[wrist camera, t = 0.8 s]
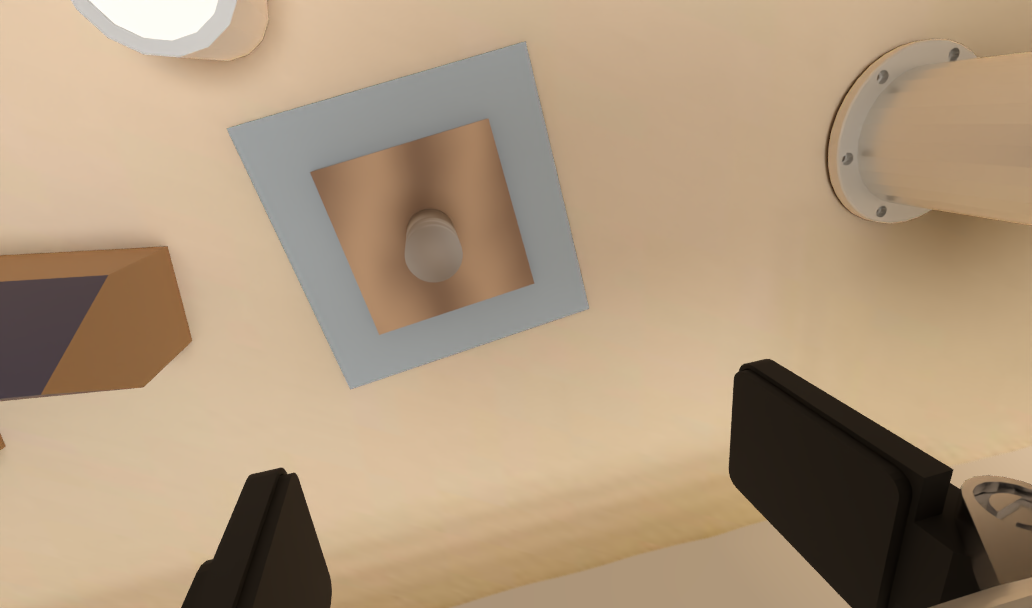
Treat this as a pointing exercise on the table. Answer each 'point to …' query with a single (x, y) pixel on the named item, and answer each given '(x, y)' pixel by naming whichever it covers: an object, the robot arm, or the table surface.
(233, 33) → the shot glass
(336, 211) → the lid
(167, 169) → the table surface
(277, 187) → the mat
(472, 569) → the table surface
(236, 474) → the table surface
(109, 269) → the toy building blocks
